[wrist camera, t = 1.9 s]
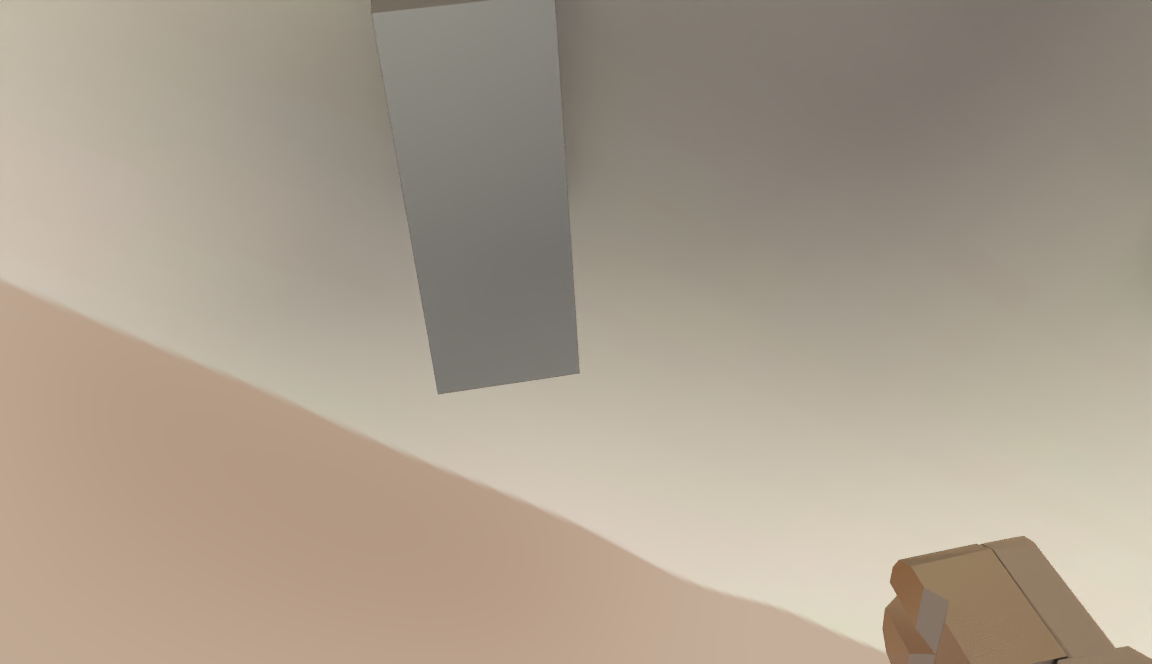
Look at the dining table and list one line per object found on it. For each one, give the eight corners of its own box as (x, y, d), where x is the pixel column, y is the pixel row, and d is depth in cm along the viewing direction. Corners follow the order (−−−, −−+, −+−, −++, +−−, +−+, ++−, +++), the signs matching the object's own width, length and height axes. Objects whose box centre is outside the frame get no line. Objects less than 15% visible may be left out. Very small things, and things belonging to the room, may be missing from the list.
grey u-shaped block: (504, -109, 23) (554, -7, 17) (532, 205, 27) (579, 373, 21) (370, -95, 22) (371, 13, 16) (421, 219, 27) (438, 394, 21)
